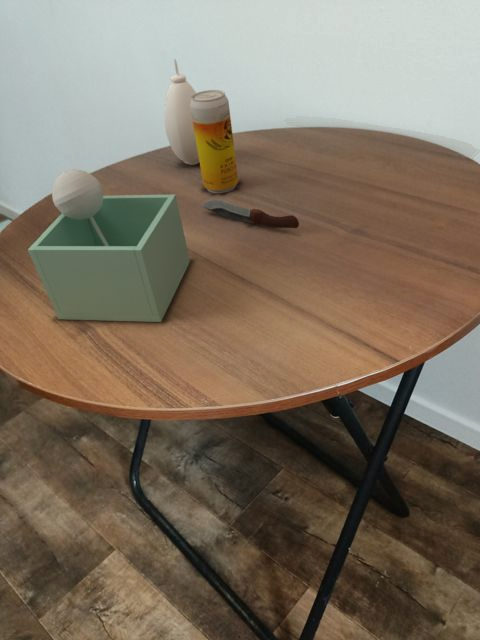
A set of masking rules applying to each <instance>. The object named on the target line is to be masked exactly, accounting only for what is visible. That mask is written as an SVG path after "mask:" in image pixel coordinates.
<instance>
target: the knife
mask: <svg viewBox="0 0 480 640" xmlns="http://www.w3.org/2000/svg"><path fill="white" fill-rule="evenodd" d="M200 206H201V207H203V208H204V209H206V210H208V211H209V212H212V213H214V214H217V215H219V216H222V217H224V218H228V219H231V220H234V221H239V222H243V223H248V224H253V225H256V226H263V227H268V228H280V229H287V228H288V229H298V227H299V226H300V221H299V219H298V218H297V217H296V216H295V215H283V216H274V215H270V214H268V213H266V212H264V211H263V210H261V209H259V208H257V209H256V208H252V209H251V208H249V207H245V206H241V205H238V204H235V203H232V202H229V201H226V200H224V199H221V198H211V199H208V200H207V201H204V202H202V203H201V205H200Z"/></svg>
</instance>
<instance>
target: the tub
mask: <svg viewBox="0 0 480 640" xmlns="http://www.w3.org/2000/svg"><path fill="white" fill-rule="evenodd" d="M180 213H181V212H180V209H179V203H178V198H177V194H126V195H125V194H123V195H122V194H121V195H119V194H118V195H103V203H102V206H101V208H100V210H99V211H98V212H97V213H96V214H95V215H94V216H92V217H93V218H94V220H95V222H96V224H97V225H98V227H99V229H100V231H101V233H102V234H103V236H104V238H105V240H106V241H107V243H108V245H109V246H105V245H104V243H103V242H102V240H101V238H100V236H99V235H98V233H97V231H96V229H95V228H94V226H93V224H92V222H91V221H90V219H89V218H88V219H84V220H76V219H72V218H69V217H67V216H66V215H64V214H63V213H62V212H61V213H60V214H59V215H58V216H57V218H56V219H55V220H54V221H53V222H52V223H51V224H50V225H49V226H48V228H46V229H45V230H44V232H42V234H41V235H40V236H39V237H38V238H37V239H36V240H35V241H34V242H33V243H32V244H31V245H30V246H29V248H28V249H27V251H28V255H29V257H30V258H31V260H32V263H33V265H34V267H35V270H36V272H37V274H38V277H39V279H40V281H41V283H42V286H43V287H44V290H45V293H46V295H47V297H48V299H49V301H50V303H51V306H52V308H53V310H54V312H55V315H56V317H57V319H58V320H69V321H70V320H73V321H76V320H77V321H103V322H105V321H106V322H107V321H108V322H109V321H111V322H139V323H142V322H145V323H161V322H162V321H163V320H164V317H165V314H166V313H167V310H168V308H169V306H170V304H171V302H172V300H173V298H174V296H175V294H176V292H177V289H178V288H179V285H180V283H181V281H182V279H183V277H184V275H185V273H186V271H187V269H188V267H189V265H190V262H191V261H190V256H189V255H190V254H189V250H188V247H187V241H186V237H185V231H184V227H183V223H182V218H181V214H180Z"/></svg>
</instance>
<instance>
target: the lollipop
mask: <svg viewBox="0 0 480 640" xmlns="http://www.w3.org/2000/svg"><path fill="white" fill-rule="evenodd" d="M51 195H52V202H53V205H54V206H55V207H56V209H57V210H59V212H60V213H61V214H62V213H63V214H64V215H66V216H67V217H69V218H72V219H76V220H84V219H88V218H89V219H90V221H91V222H92V224H93V226H94V228H95V229H96V231H97V233H98V235H99V236H100V238H101V240H102V242H103V243H104V245H105V246H109V245H108V243H107V241H106V240H105V238H104V236H103V234H102V233H101V231H100V229H99V227H98V225H97V224H96V222H95V220H94V218H93V217H92V216H94V215H95V214H96V213H97V212H98V211H99V210H100V208H101V206H102V203H103V196H104V191H103V187H102V185H101V183H100V182H99V180H98V179H97V178H96V177H95V176H94V175H92V174H91V173H90V172H87V171H85V170H82V169H75V168H74V169H68V170H65V171H64V172H62V173H60V174H59V175H58V176H57V177H56V178H55V180H54V181H53V185H52V189H51Z"/></svg>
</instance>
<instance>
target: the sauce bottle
mask: <svg viewBox="0 0 480 640" xmlns="http://www.w3.org/2000/svg"><path fill="white" fill-rule="evenodd" d="M173 59H174V60H173V62H174V70H175V74H174V75H172V76H171V77H170V84H169V86H168V89H167V92H166V97H165V102H164V111H163V112H164V113H163V115H164V128H165V134H166V137H167V140H168V143H169V146H170V148H171V151H172V152H173V153H174V154H175V156H176V157H177V158H178V159H179V160H180V161H182V162H183V163H184V164H186V165H189V166H195V165H198V164H199V163H200V162H199V156H198V150H197V144H196V138H195V132H194V127H193V121H192V115H191V109H190V102H191V96H192V95H193V94H195V93H197V92H196V90H195V89H194V87H193V86H192V85H191V83H190V82H188V81H187V77H186V75H185V74H181V73H180V72H179V67H178V63H177V60H176V58H173Z"/></svg>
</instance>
